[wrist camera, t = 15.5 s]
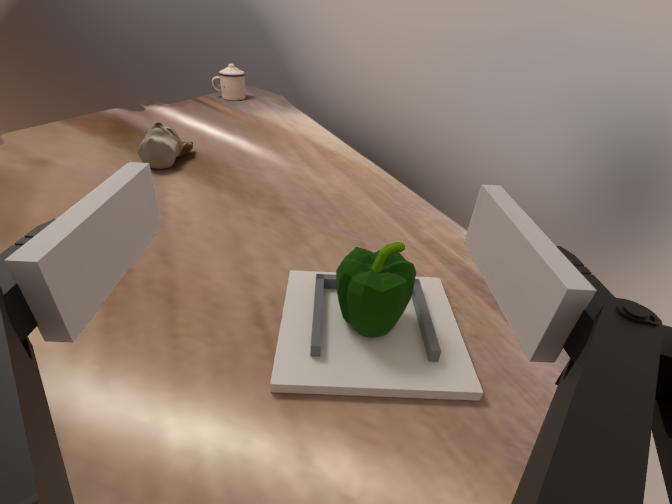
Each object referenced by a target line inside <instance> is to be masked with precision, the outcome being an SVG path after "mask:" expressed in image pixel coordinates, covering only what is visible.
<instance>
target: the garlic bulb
mask: <svg viewBox="0 0 672 504" xmlns="http://www.w3.org/2000/svg"><path fill="white" fill-rule="evenodd" d="M192 148H193V142H188V143H185V142H181V140H180V138H179V137H178V135H177V133H176V132H175V131H174V130H173V129H171V128H169V127H164V126H163V125H162V124H161V123H156V124H155V125H154V126H152V127H151V128H150V129H149V132H148V133H147V135H146V136H145V138H144V140H143V141H142V142H141V144H140V146H139V149H138V154H139V156H140V158H141V160H142V162H143V163H149V165H150V168H155V169H165V168H169V167H171V166H172V165H173V163H174V161H175V159H176V157H177V156H178V155H183V154H187V153H189V152H190V151H191V149H192Z"/></svg>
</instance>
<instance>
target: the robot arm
mask: <svg viewBox="0 0 672 504" xmlns="http://www.w3.org/2000/svg"><path fill="white" fill-rule="evenodd" d="M161 226H162V221H161V217H160V212H159V207H158V202H157V198H156V193H155V188H154V184H153V179H152V174H151V169H150V165H149V163H136V162H128V163H127V164H126V165H125V166H123V167H122V168H121V169H119V170H118V171H117V172H116V173H114V174H113V175H112V176H111V177H109V178H108V179H107V180H105V181H104V182H103V183H102V184H100V185H99V186H98V187H97V188H95V189H94V190H93V191H91V192H90V193H89V194H88V195H86V196H85V197H84V198H83V199H81V200H80V201H79V202H77V203H76V204H75V205H74V206H72V207H71V208H70V209H69V210H67V211H66V212H65V213H63V214H62V215H61V216H60V217H58V218H57V219H53V220H50V221H48V222H46V223H44V224H41V225H39V226H37V227H36V228H34V229H33V230H32V231H30V232H29V233H28V234H26V235H25V238H21V239H20V240H18V241H17V242H16V243H15V245H12V246H10V247H9V248H8V249H7V250H5V251H4V252H3V253H1V254H0V504H74V500H73V496H72V493H71V489H70V485H69V481H68V478H67V474H66V470H65V466H64V463H63V459H62V455H61V451H60V448H59V444H58V440H57V436H56V433H55V429H54V425H53V421H52V418H51V414H50V410H49V406H48V403H47V399H46V395H45V391H44V388H43V384H42V380H41V376H40V373H39V369H38V365H37V361H36V358H35V354H34V350H33V346H32V344H31V342H30V340H29V338H28V337H27V336H28V335H29V334H30V333H31V332H32V331H33V330H34V329H35V327H36V326H37V327H38V329H39V331H40V333H41V334H42V336H43V338H44V340H45V341H51V342H74V341H75V339H76V338H77V337H78V335H79V334H80V333H81V332H82V330H83V329H84V328H85V326H86V325H87V324H88V322H89V321H90V320H91V318H92V317H93V316H94V314H95V313H96V312H97V311H98V309H99V308H100V307H101V305H102V304H103V303H104V301H105V300H106V299H107V297H108V296H109V295H110V293H111V292H112V291H113V290H114V288H115V287H116V286H117V284H118V283H119V282H120V280H121V279H122V278H123V276H124V275H125V274H126V272H127V271H128V270H129V269H130V267H131V266H132V265H133V263H134V262H135V261H136V259H137V258H138V257H139V255H140V254H141V253H142V251H143V250H144V249H145V247H146V246H147V245H148V244H149V242H150V241H151V240H152V238H153V237H154V236H155V234H156V233H157V232H158V230H159V229H160V228H161ZM464 243H465V245H466V247H467V249H468V250H469V252H470V254H471V256H472V258H473V260H474V261H475V263H476V265H477V267H478V269H479V270H480V272H481V274H482V276H483V278H484V280H485V281H486V283H487V285H488V287H489V289H490V290H491V292H492V294H493V296H494V298H495V299H496V301H497V303H498V305H499V307H500V309H501V310H502V312H503V314H504V316H505V318H506V319H507V321H508V323H509V325H510V327H511V329H512V330H513V332H514V334H515V336H516V338H517V339H518V341H519V343H520V345H521V347H522V349H523V350H524V352H525V354H526V356H527V358H528V359H529V361H532V362H555V361H556V359H557V358H558V356H559V354H560V353H561V351H562V349H563V348H564V349H565V351H566V352H567V354H568V355H569V357H570V360H569V362H568V363H567V365H566V367H565V368H564V370H563V371H562V373H561V375H560V376H559V378H558V380H557V381H556V383H555V384H556V385H558V387H557V389H556V392H555V394H554V397H553V399H552V402H551V404H550V407H549V410H548V412H547V415H546V417H545V420H544V422H543V425H542V427H541V430H540V432H539V435H538V438H537V440H536V443H535V445H534V448H533V450H532V453H531V455H530V458H529V460H528V463H527V466H526V468H525V471H524V473H523V476H522V478H521V481H520V483H519V486H518V488H517V491H516V493H515V496H514V499H513V501H512V504H643V499H644V491H645V482H646V473H647V465H648V456H649V447H650V438H651V429H652V433H653V437H654V441H655V445H656V449H657V453H658V457H659V462H660V465H661V469H662V474H663V478H664V481H665V486H666V490H667V493H668V498H669V502H670V504H672V327H669V326H665V325H662V321H661V320H660V319H659V318H658V317H657V315H655V314H654V313H653V312H652V311H650V310H649V309H648V308H646V307H644V306H642V305H640V304H638V303H636V302H633V301H630V300H626V299H620V298H615V297H614V296H613V295H612V294H611V293H610V292H609V291H608V290H607V288H605V286H604V285H603V284H601V282H600V281H599V280H598V279H597V278H596V277H595V276H594V275H591V272H590V271H589V270H588V269H587V268H586V267H584V265H583V264H582V262H580V260H579V259H578V258H577V257H576V256H575V255H573V254H572V253H570V252H569V251H567V250H565V249H564V248H562V247H560V246H555V245H554V244H553V243H552V241H551V240H550V239H549V238H548V237H547V236H546V235H545V234H544V233H543V232H542V230H541V229H540V228H539V227H538V226H537V225H536V224H535V223H534V222H533V221H532V220H531V219H530V217H529V216H528V215H527V214H526V213H525V212H524V211H523V210H522V209H521V208H520V207H519V205H518V204H517V203H516V202H515V201H514V200H513V199H512V198H511V197H510V196H509V195H508V194H507V193H506V191H505V190H504V189H503V188H502V187H501V186H498V185H481V188H480V192H479V195H478V198H477V202H476V205H475V208H474V211H473V215H472V218H471V221H470V225H469V228H468V231H467V234H466V238H465V241H464Z"/></svg>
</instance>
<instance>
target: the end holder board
mask: <svg viewBox="0 0 672 504" xmlns="http://www.w3.org/2000/svg"><path fill="white" fill-rule="evenodd" d="M270 389H271V392H275V393H300V394H325V395H350V396H375V397H400V398H425V399H450V400H475V401H480V399H481V397H482V395H483V390H482V388H481V385H480V383H479V380H478V377H477V375H476V372H475V370H474V367H473V364H472V362H471V359H470V356H469V354H468V351H467V349H466V346H465V343H464V341H463V338H462V336H461V333H460V330H459V328H458V325H457V322H456V320H455V317H454V315H453V312H452V309H451V307H450V304H449V302H448V299H447V296H446V294H445V291H444V289H443V286H442V283H441V281H440V278H431V277H415V283H414V288H413V292H412V296H411V299H410V301H409V303H408V305H407V307H406V309H405V311H404V312H403V314H402V316H401V317H400V319H399V320H398V322H397V323H396V325H395V326H394V327H393V328H392V329H391V330H390V331H389V332H388V333H387V334H386V335H384V336H379V337H374V338H371V337H366V336H361V335H360V334H359V333H358V332H356V331H355V330H354V329H353V327H352V326H351V324H350V323H347V322H346V321H345V320H344V319H343V316H342V313H341V309H340V305H339V301H338V295H337V290H336V273H332V272H312V271H292V270H290V275H289V281H288V286H287V292H286V298H285V303H284V309H283V315H282V320H281V326H280V332H279V337H278V343H277V349H276V354H275V360H274V366H273V371H272V377H271V383H270Z"/></svg>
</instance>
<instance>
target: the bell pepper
mask: <svg viewBox="0 0 672 504" xmlns="http://www.w3.org/2000/svg"><path fill="white" fill-rule="evenodd" d="M404 249H405V245H404V244H403V243H400V242H395V243H392V244H389V245H386V246H385V247H384V248H382V249H381V250H379V251H377V252H375V253H373V252H371V251H368V250H366V249H362V248H358V247H356V248H355V249H354V250H353V251H352V252H350V253H349V254H348V255H347V256H346V257H345V258H344V260H343V261H342V262H341V264H340V266H339V267H338V269H337V271H336V290H337V295H338V301H339V305H340V309H341V313H342V316H343V319H344V320H345V321H346V322H347V323H350V324H351V326H352V327H353V329H354V330H355V331H356V332H358V333H359V334H360V335H361V336H366V337H371V338H374V337H379V336H384V335H386V334H387V333H388V332H389V331H390V330H391V329H392V328H393V327H394V326H395V325H396V323H397V322H398V320H399V319H400V317H401V316H402V314H403V312H404V311H405V309H406V307H407V305H408V303H409V301H410V299H411V296H412V292H413V288H414V283H415V277H416V271H415V267H414V264H412V263H410V262H408V261H407V260H405V259H404V258H403V256H402V255H401V254H400V253H399V252H402V251H403V250H404Z"/></svg>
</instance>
